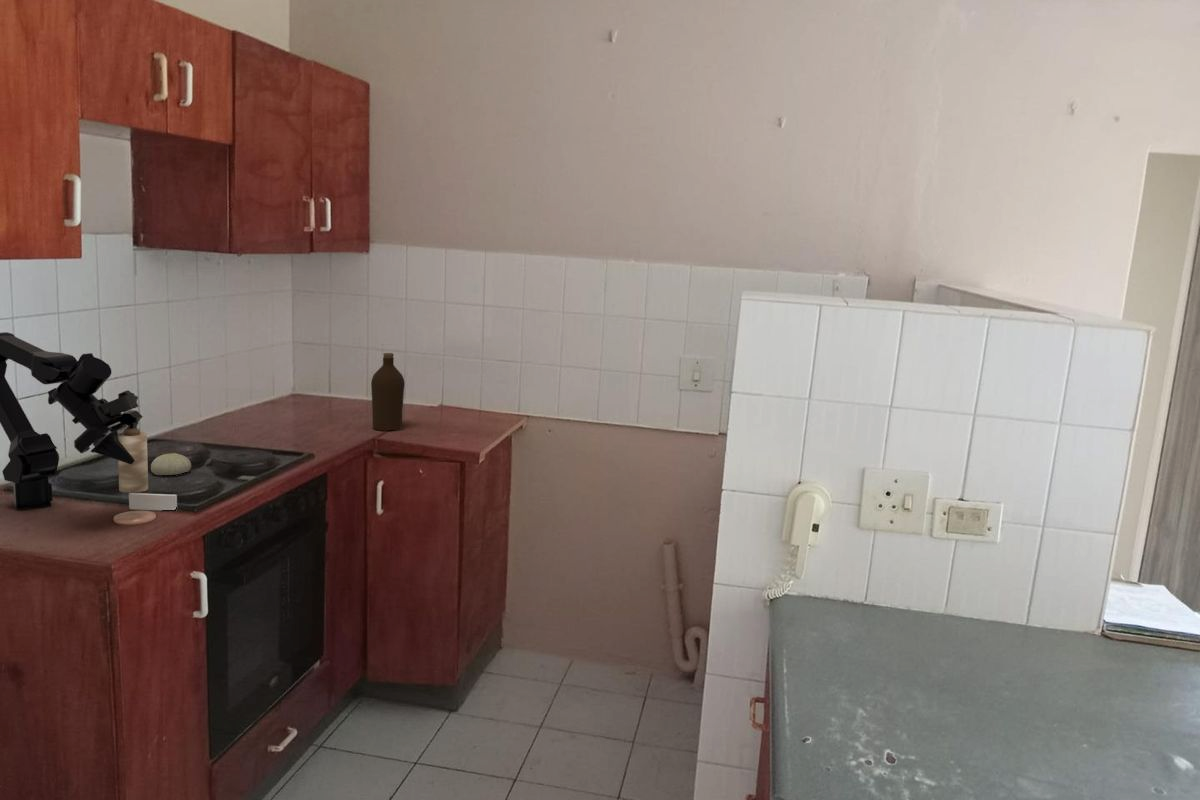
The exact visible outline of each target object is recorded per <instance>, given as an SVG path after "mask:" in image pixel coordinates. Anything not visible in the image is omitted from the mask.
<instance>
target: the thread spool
mask: <svg viewBox="0 0 1200 800" xmlns="http://www.w3.org/2000/svg"><path fill="white" fill-rule="evenodd" d="M118 440H119V442H120V443H121V444H122V445H123V446H124V448H125V449H126V450H127V451H128V452H129V454H130V455H131V456H132V457H133V459H134V460H135V462H133V463H132V464H128V463H125V462H122V461H120V460H117V462H118V463H117V464H118V465H117V466H118V467H117V468H118V490H119V492H121V493H128V494H130V493H143V492H145V491H147V490H148V489H149V472H148V470H149V468H148V467H149V465H148V464H149V462H148V434H147V432H144V431H141V429H140V428H138V427H137V428H130V429H125V430H124V433H120V434H118Z"/></svg>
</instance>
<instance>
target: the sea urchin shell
mask: <svg viewBox="0 0 1200 800" xmlns="http://www.w3.org/2000/svg"><path fill="white" fill-rule="evenodd" d="M191 469H192V463H191V460H190V459H189V458H188V457H187V456H184V455H182V454H179V453H175V452H174V453H164V454H160V455H158V456H157V457H156V458H155V459H154V460H152V463H151V464H150V471H151V472H152V473H153V474H154V475H157V476H162V475H171V474H179V473H184V472H187V473H188V472H190V471H191ZM184 474H185V473H184Z"/></svg>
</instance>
